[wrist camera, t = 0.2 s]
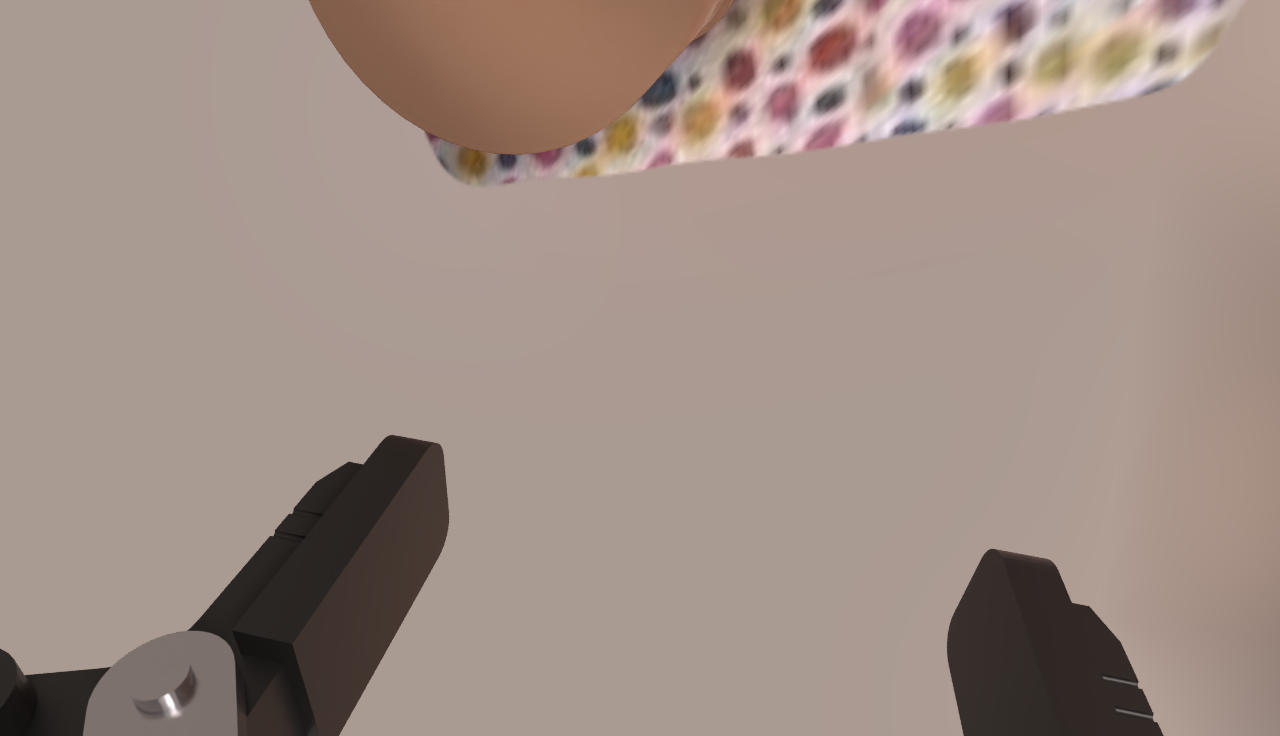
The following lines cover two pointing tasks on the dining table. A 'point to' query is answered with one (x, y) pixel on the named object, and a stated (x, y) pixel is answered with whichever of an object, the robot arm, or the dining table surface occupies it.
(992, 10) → the dining table surface
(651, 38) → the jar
